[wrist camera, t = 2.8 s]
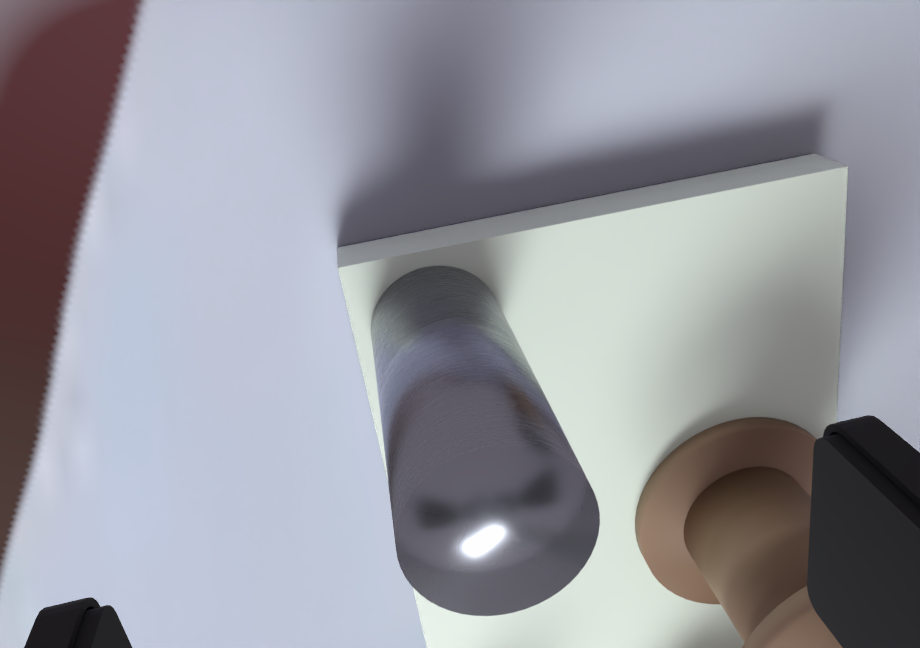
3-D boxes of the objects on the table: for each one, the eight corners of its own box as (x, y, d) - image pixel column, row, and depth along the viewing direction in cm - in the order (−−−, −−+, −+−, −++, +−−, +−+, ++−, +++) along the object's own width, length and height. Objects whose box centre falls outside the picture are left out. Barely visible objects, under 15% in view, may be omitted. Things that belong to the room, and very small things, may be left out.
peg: (491, 253, 19) (590, 426, 12) (509, 371, 21) (607, 590, 13) (358, 280, 19) (377, 472, 12) (385, 398, 20) (415, 635, 13)
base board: (814, 153, 21) (848, 166, 20) (800, 678, 29) (823, 713, 28) (336, 247, 20) (337, 267, 19) (456, 762, 28) (463, 802, 27)
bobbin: (837, 396, 22) (1018, 550, 17) (830, 564, 25) (984, 750, 19) (627, 442, 22) (737, 617, 16) (641, 609, 25) (740, 812, 19)
